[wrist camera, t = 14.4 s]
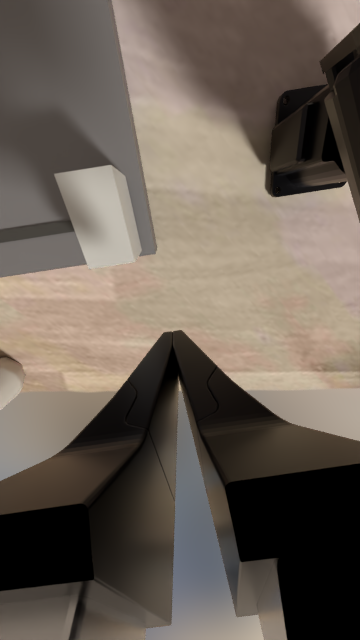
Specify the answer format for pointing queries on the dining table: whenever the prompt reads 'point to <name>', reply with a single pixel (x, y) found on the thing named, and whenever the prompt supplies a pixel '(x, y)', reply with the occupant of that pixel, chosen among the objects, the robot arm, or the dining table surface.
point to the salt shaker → (10, 380)
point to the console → (60, 126)
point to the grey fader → (101, 215)
